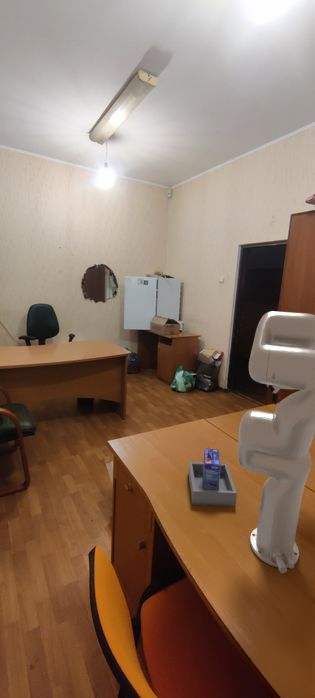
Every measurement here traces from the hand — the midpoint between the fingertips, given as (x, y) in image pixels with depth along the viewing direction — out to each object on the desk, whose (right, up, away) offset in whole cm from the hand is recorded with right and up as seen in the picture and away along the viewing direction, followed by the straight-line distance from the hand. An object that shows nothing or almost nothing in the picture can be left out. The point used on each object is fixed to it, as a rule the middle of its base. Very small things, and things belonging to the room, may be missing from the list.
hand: (287, 403), depth 105 cm
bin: (-27, -30, 0) cm, 41 cm away
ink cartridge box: (-27, -29, 0) cm, 40 cm away
